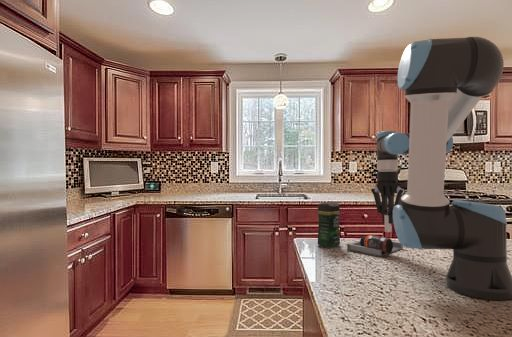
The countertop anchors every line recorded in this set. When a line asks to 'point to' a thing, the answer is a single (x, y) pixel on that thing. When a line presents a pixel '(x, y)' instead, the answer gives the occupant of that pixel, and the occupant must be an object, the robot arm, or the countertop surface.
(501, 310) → the countertop surface
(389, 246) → the supplement bottle
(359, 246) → the tray
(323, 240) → the coffee jar
